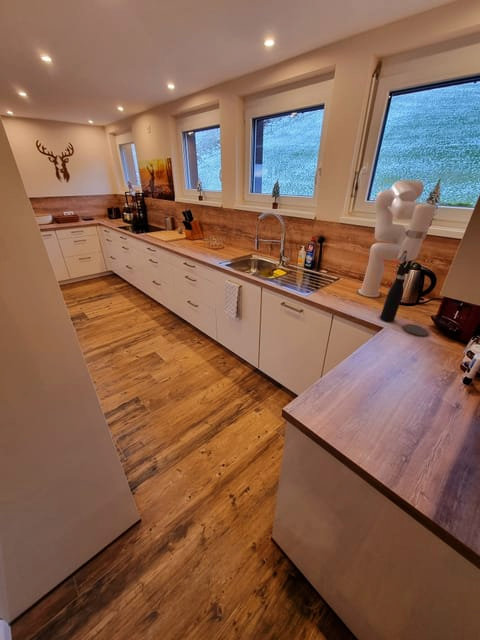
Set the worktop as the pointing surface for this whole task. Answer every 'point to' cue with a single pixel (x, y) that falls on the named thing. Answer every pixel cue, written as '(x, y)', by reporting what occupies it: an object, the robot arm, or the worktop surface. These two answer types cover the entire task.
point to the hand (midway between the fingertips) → (402, 273)
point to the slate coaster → (415, 330)
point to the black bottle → (394, 298)
